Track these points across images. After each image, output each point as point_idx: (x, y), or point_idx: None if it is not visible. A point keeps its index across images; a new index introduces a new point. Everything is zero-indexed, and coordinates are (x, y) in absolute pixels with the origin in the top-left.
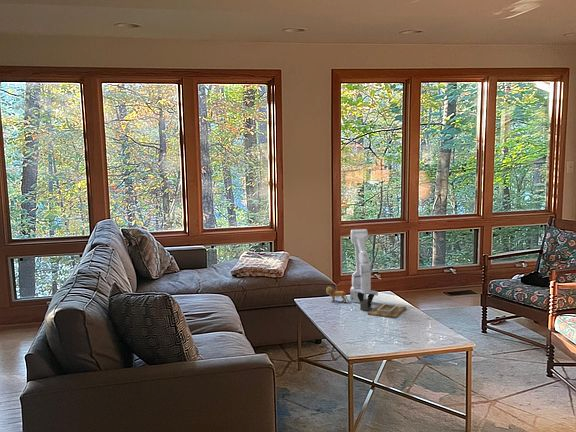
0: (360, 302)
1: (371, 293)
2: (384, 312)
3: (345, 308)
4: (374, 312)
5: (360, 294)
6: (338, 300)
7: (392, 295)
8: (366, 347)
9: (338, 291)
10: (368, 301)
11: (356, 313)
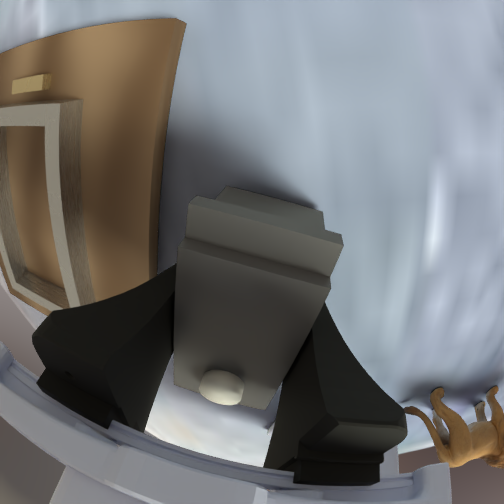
0: (326, 257)
1: (65, 420)
2: (17, 90)
3: (482, 261)
4: (100, 72)
5: (324, 453)
6: (456, 409)
7: None
8: None
9: (476, 456)
10: (167, 294)
11: (359, 46)
